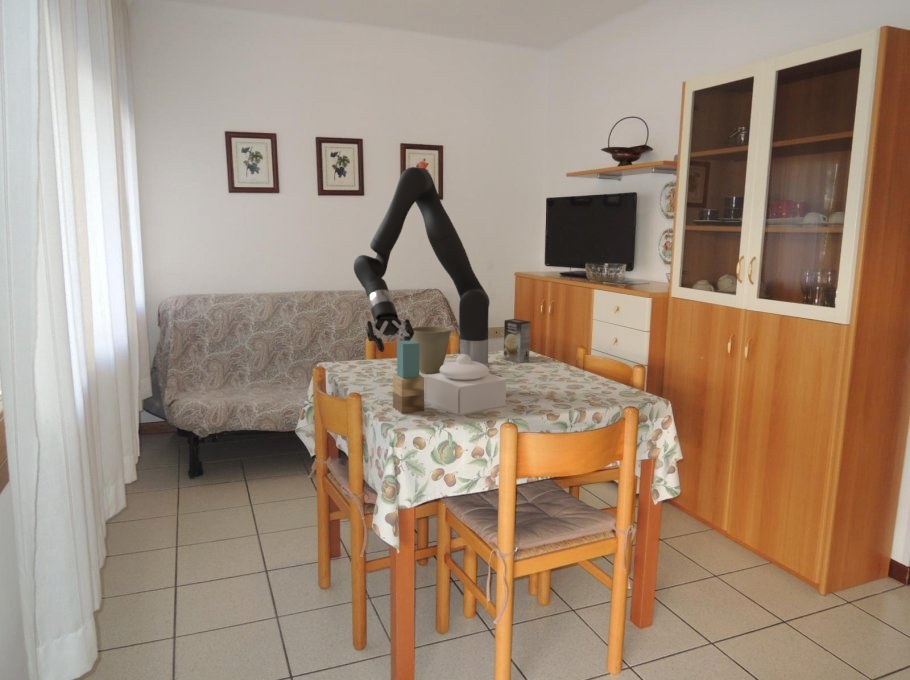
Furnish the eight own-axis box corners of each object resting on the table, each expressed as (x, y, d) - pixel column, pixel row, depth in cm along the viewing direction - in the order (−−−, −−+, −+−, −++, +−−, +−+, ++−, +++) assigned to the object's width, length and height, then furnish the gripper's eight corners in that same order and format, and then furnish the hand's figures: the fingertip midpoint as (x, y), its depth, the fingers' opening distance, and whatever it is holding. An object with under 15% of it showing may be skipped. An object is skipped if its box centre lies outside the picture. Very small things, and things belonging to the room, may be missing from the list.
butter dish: (470, 395, 215) (471, 346, 212) (506, 407, 200) (508, 355, 197) (424, 403, 204) (424, 351, 202) (459, 417, 190) (460, 362, 187)
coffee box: (502, 359, 270) (503, 319, 267) (513, 357, 274) (514, 318, 271) (519, 363, 263) (520, 322, 260) (530, 360, 267) (531, 321, 265)
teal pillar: (413, 373, 198) (413, 340, 197) (419, 377, 194) (419, 343, 192) (397, 375, 196) (397, 341, 195) (403, 378, 192) (403, 344, 190)
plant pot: (452, 368, 253) (452, 326, 250) (448, 377, 238) (448, 332, 235) (413, 366, 254) (413, 325, 251) (406, 375, 239) (406, 331, 237)
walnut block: (414, 405, 201) (414, 389, 201) (424, 411, 195) (424, 394, 194) (392, 407, 198) (392, 391, 197) (402, 413, 192) (401, 396, 191)
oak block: (415, 389, 201) (415, 372, 200) (424, 394, 194) (424, 377, 193) (393, 391, 198) (392, 374, 197) (401, 396, 191) (401, 379, 190)
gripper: (363, 300, 205) (376, 344, 197) (406, 299, 211) (421, 341, 203) (358, 315, 210) (370, 358, 202) (400, 313, 217) (414, 355, 208)
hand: (396, 349), depth 203 cm, fingers open, 8 cm apart
